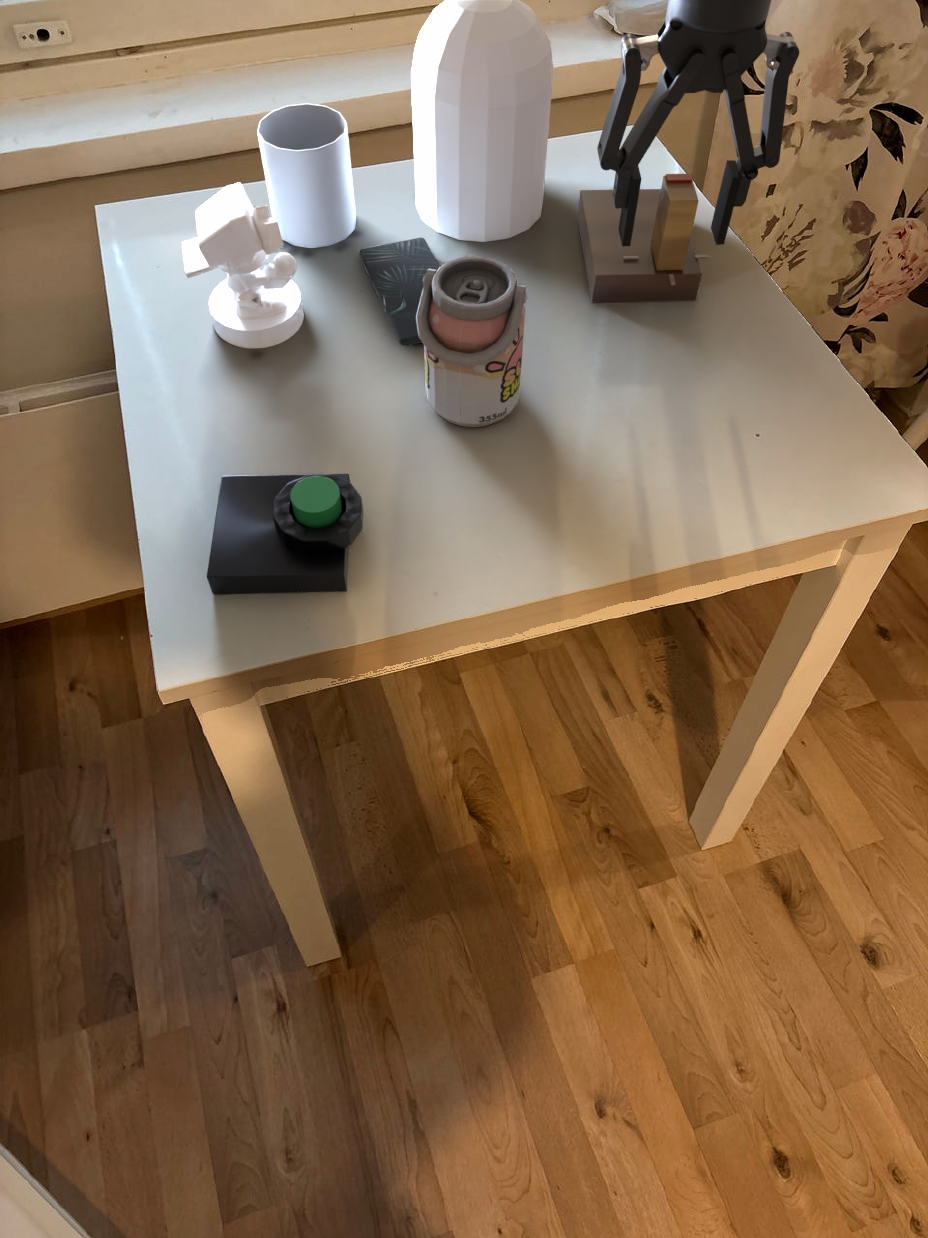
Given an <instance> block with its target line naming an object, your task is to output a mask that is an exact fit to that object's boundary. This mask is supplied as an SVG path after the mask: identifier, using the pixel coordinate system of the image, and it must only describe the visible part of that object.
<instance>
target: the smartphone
mask: <svg viewBox="0 0 928 1238" xmlns="http://www.w3.org/2000/svg"><path fill="white" fill-rule="evenodd" d="M358 254H359V255H358V256H359V257H360V260H361V262H362V264H363V266H364V268H365V271H366V273H367V275H368V277H369V279H370V281H371V283H372V286H373V288H374V290H375V292H376V295H377V298H378V300H379V302H380V304H381V307H382V308H383V309H384V313H385V315H386V317H387V319H388V321H389V323H390V325H391V328H392V329H393V331H394V333H395V335H396V338H397V339H398V342H399V345H401V346H403V347H406V346H411V345H415V344H420V343H422V341H421V340H420V338H419V336H418V330H417V323H416V315H417V311H418V306H419V302H420V298H421V294H422V290H423V287H424V285H423V277H424V276H425V275H426V272H427V270H428V269H434V270H438V269H439V267H440V265H439V263H438V261H437V259H436V257H435V256H434V254H433V252H432V250H431V248H430V247H429V244H428V242H427V241H426V239H425V238H424V237H416V238H411V239H406V240H405V239H404V240H400V241H395V242H390V243H384V244H380V245H375V246H370V247H369V246H368V247H364V248H361V249H360V250H359V251H358Z"/></svg>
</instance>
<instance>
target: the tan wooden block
mask: <svg viewBox="0 0 928 1238" xmlns="http://www.w3.org/2000/svg"><path fill="white" fill-rule="evenodd" d="M693 180H694V179H693V177H692V175H691V173H665V175H663V176H662V181H661V186H660V189H661V192H660V197H659V202H658V208H657V213H656V218H655V224H654V229H653V234H652V240H651V249H652V253H653V257H654V261H655V265H656V270H683V268H684V264H685V259H686V255H687V250H688V246H689V241H690V237H691V235H692V232H693V228H694V224H695V219H696V214H697V210H698V206H699V201H700V200H699V197H698V194H697V191H696V188H695V185H694V184H695V183H694V181H693Z"/></svg>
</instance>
